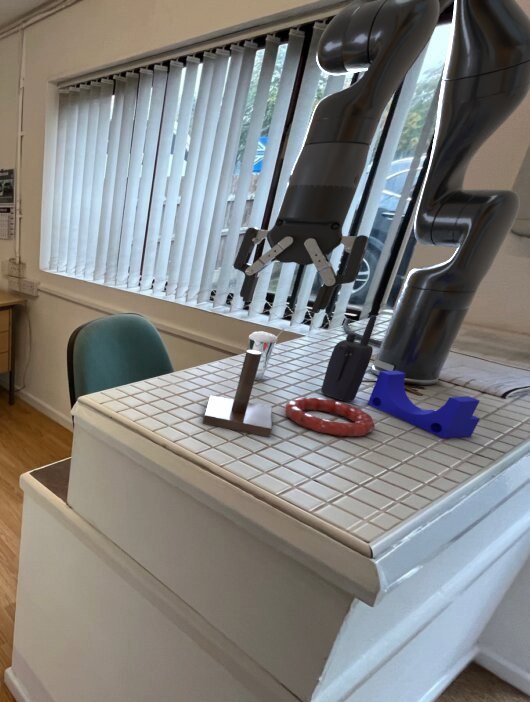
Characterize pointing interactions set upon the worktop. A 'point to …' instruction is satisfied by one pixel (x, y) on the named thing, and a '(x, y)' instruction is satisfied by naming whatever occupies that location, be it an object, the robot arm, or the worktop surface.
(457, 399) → the cable clip
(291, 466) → the worktop surface
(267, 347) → the milkshake
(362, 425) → the ring
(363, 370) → the two-way radio
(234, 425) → the stand
